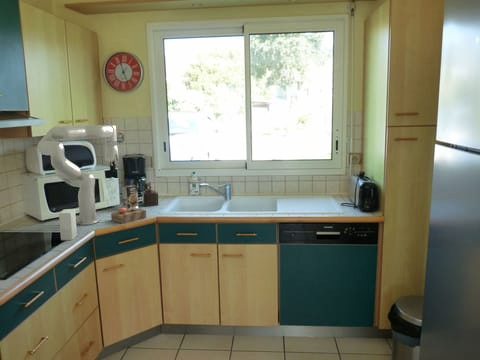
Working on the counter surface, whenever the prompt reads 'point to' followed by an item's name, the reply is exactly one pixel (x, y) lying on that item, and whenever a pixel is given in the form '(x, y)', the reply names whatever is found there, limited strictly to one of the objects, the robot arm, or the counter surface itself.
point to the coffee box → (130, 196)
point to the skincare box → (68, 224)
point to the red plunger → (122, 210)
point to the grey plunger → (134, 208)
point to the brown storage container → (149, 196)
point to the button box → (128, 216)
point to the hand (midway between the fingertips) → (113, 171)
